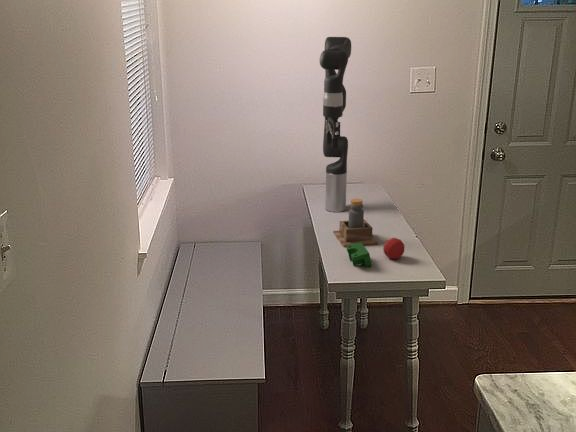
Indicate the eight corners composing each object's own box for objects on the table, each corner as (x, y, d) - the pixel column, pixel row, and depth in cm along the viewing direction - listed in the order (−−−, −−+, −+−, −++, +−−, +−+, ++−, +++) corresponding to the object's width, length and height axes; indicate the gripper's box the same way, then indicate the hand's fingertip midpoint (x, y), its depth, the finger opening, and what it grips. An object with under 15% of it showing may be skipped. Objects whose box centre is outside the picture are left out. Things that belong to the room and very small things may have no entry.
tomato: (403, 239, 239) (390, 229, 245) (387, 254, 239) (375, 243, 244) (411, 252, 244) (398, 242, 250) (395, 266, 244) (383, 256, 250)
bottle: (364, 234, 266) (365, 198, 261) (361, 239, 261) (362, 202, 256) (350, 233, 268) (351, 197, 263) (346, 237, 263) (347, 201, 258)
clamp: (351, 270, 246) (344, 246, 246) (367, 265, 246) (360, 242, 247) (356, 270, 234) (349, 245, 234) (373, 265, 234) (365, 240, 235)
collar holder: (333, 233, 271) (333, 219, 269) (366, 231, 273) (366, 217, 271) (343, 247, 256) (344, 232, 254) (378, 244, 258) (379, 230, 256)
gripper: (319, 101, 261) (318, 142, 266) (327, 107, 248) (327, 150, 253) (337, 101, 262) (336, 141, 267) (347, 106, 249) (346, 149, 254)
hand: (332, 145), depth 260 cm, fingers open, 8 cm apart
